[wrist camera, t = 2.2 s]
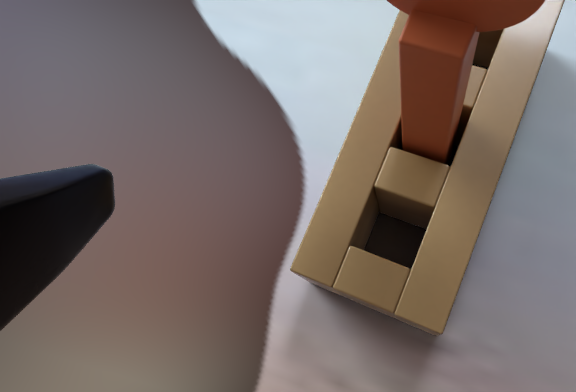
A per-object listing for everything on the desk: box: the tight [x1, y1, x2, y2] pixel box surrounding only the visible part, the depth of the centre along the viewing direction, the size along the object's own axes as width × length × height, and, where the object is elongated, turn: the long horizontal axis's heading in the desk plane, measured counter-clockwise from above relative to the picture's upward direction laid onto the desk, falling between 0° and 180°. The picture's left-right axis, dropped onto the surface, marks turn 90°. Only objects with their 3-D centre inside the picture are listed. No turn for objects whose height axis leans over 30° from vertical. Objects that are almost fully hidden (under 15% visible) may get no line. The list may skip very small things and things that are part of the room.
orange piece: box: [387, 0, 545, 165], centre depth 16 cm, size 2×4×14 cm, turn 66°
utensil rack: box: [290, 0, 565, 336], centre depth 20 cm, size 5×13×4 cm, turn 156°
